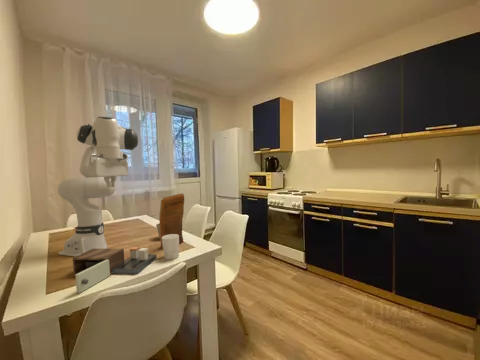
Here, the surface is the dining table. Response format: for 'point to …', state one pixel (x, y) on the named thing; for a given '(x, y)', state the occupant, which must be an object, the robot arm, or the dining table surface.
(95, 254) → the wooden box
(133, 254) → the block
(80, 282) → the door
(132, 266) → the console
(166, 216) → the pancake mix bag
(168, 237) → the white cup
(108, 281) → the dining table surface
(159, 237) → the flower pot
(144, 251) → the block
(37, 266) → the dining table surface
